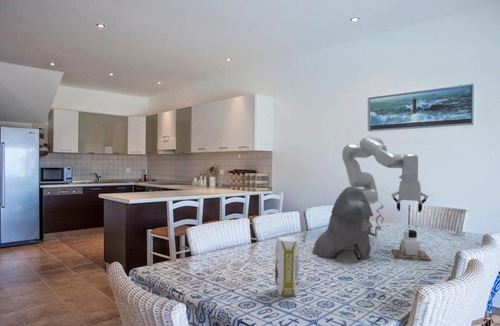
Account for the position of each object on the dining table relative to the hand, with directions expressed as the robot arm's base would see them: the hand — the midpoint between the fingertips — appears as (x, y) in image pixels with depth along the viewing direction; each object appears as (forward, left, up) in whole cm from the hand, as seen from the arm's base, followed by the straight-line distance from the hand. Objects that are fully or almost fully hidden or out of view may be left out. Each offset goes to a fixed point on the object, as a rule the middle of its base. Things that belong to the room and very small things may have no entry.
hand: (409, 211), depth 175 cm
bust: (-31, -11, -23) cm, 40 cm away
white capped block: (0, -2, -22) cm, 22 cm away
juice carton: (-51, -73, -23) cm, 92 cm away
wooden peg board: (0, -2, -23) cm, 23 cm away
